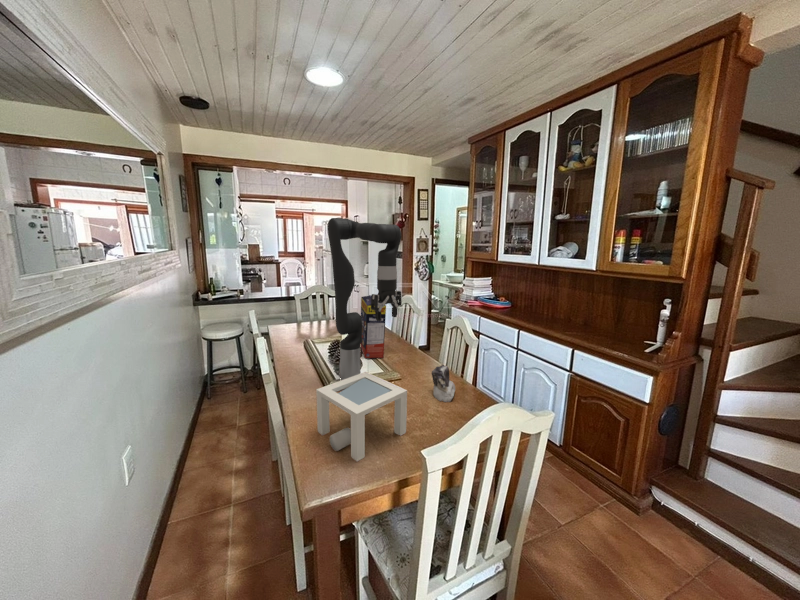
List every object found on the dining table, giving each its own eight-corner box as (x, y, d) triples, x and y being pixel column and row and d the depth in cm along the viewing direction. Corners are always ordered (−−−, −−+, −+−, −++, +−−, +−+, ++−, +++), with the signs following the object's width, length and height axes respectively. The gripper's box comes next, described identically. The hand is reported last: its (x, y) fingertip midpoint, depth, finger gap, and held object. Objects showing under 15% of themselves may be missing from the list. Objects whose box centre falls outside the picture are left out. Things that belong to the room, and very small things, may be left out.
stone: (459, 406, 139) (446, 379, 134) (437, 412, 142) (423, 386, 137) (457, 384, 152) (445, 359, 146) (437, 390, 154) (424, 365, 149)
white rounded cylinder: (342, 432, 113) (327, 439, 109) (348, 424, 111) (333, 432, 106) (350, 445, 111) (335, 453, 107) (356, 438, 108) (341, 446, 104)
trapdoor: (333, 398, 115) (333, 396, 114) (364, 380, 124) (364, 377, 124) (359, 414, 105) (359, 411, 105) (390, 392, 114) (390, 390, 114)
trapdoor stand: (317, 431, 117) (316, 389, 114) (365, 409, 132) (365, 371, 129) (357, 461, 102) (356, 413, 99) (406, 432, 117) (407, 390, 114)
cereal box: (384, 359, 187) (387, 303, 181) (364, 359, 184) (366, 303, 178) (376, 344, 212) (378, 294, 206) (358, 344, 209) (360, 294, 204)
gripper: (393, 275, 135) (392, 314, 138) (366, 278, 125) (366, 319, 128) (406, 277, 130) (405, 317, 133) (379, 280, 120) (379, 323, 123)
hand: (386, 318), depth 130 cm, fingers open, 8 cm apart
